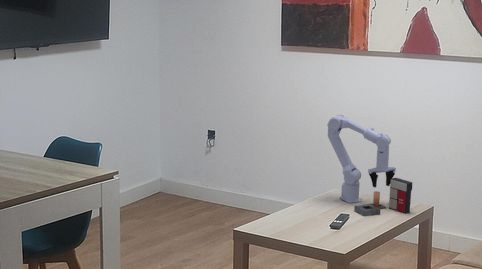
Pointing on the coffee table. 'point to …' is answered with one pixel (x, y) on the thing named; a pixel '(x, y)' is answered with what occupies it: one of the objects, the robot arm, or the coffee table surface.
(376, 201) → the cylinder
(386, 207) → the mat
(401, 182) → the red and grey box
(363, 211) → the chuck plate
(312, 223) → the coffee table surface
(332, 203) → the coffee table surface
